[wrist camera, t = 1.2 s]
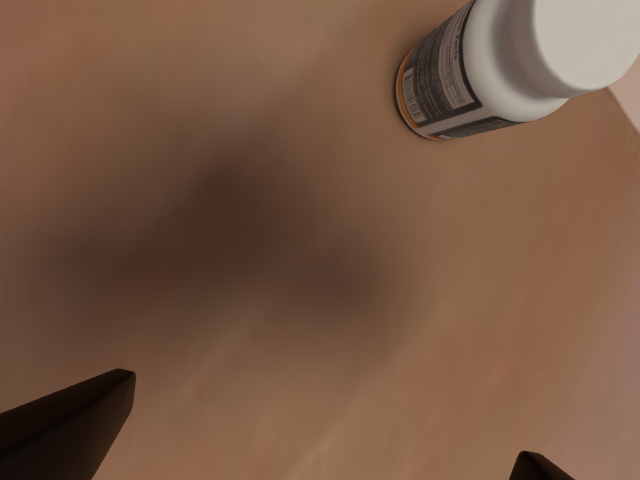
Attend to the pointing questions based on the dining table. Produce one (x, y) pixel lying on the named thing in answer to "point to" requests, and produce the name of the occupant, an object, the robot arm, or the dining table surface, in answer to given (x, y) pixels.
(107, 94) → the dining table surface
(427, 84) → the pill bottle
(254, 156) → the dining table surface
